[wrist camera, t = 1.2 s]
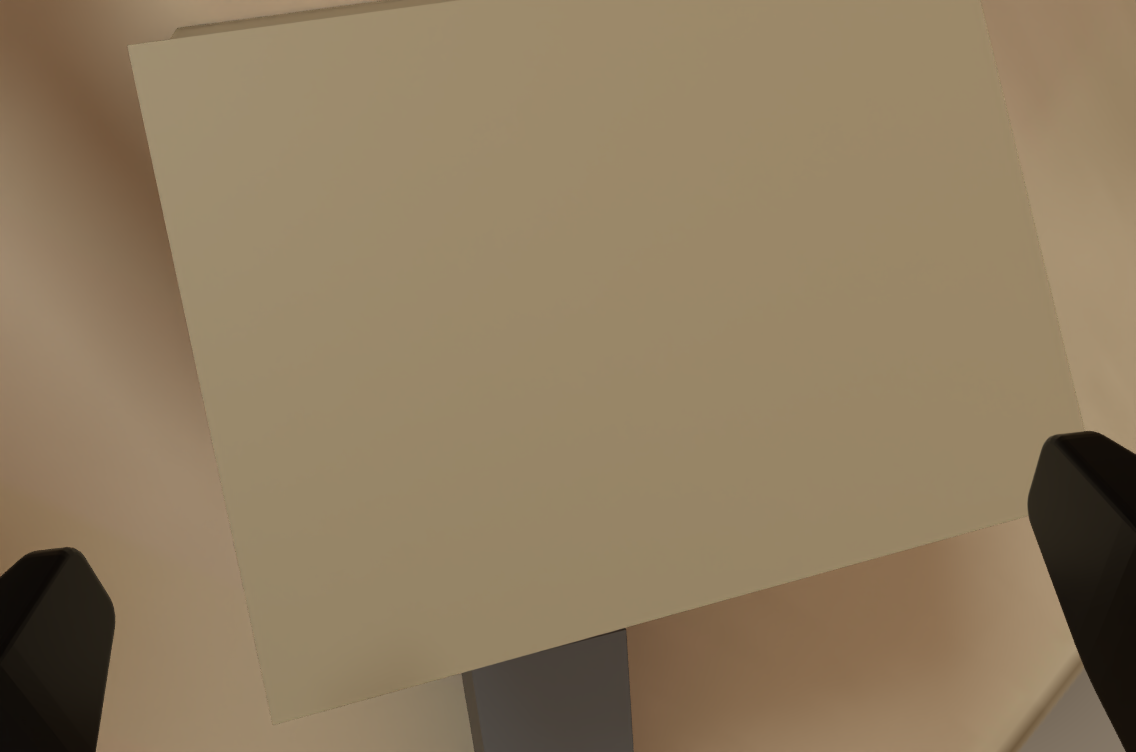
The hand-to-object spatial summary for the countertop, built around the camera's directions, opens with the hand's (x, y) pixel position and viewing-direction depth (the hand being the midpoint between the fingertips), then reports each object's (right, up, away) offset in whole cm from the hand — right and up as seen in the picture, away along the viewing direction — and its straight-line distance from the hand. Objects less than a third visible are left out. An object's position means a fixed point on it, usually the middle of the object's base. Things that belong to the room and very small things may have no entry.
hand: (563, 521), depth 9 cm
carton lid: (+1, +3, +8) cm, 8 cm away
